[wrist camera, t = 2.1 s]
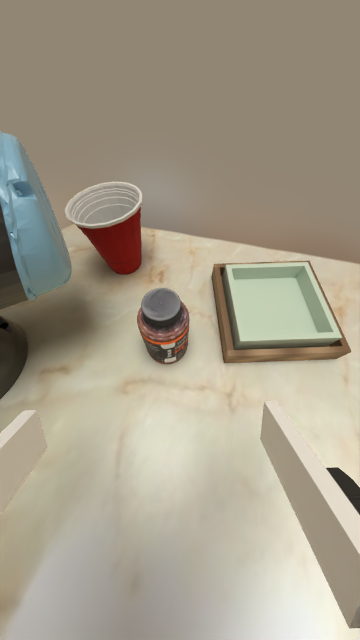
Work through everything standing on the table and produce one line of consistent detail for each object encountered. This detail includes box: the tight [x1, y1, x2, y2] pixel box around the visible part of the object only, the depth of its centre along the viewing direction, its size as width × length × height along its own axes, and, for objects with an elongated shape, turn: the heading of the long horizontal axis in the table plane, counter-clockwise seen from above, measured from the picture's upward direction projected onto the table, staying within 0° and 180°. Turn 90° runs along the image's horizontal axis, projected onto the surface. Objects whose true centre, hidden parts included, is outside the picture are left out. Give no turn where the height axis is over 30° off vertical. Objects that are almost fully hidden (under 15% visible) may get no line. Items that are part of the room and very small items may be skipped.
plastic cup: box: [65, 182, 142, 274], centre depth 33 cm, size 11×11×12 cm
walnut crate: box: [212, 261, 351, 363], centre depth 31 cm, size 16×16×3 cm
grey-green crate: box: [222, 262, 342, 350], centre depth 30 cm, size 13×13×4 cm
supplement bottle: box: [137, 288, 189, 364], centre depth 25 cm, size 6×6×11 cm
